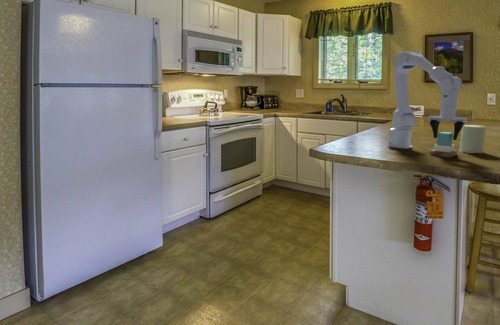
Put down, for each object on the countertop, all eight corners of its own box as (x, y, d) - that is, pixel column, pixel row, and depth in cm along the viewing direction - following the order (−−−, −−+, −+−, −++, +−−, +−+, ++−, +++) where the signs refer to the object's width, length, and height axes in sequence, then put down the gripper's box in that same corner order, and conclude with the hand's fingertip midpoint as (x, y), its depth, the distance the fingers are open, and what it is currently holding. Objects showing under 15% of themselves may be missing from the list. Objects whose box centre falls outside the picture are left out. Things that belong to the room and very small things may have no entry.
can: (483, 154, 158) (486, 126, 156) (458, 152, 163) (461, 125, 160) (482, 151, 166) (486, 124, 163) (459, 149, 171) (462, 123, 168)
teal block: (436, 144, 156) (437, 132, 155) (440, 143, 159) (441, 131, 158) (448, 145, 153) (449, 133, 152) (451, 144, 156) (453, 132, 155)
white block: (433, 150, 156) (434, 144, 156) (438, 148, 161) (439, 143, 160) (449, 152, 152) (450, 146, 152) (453, 150, 156) (454, 144, 156)
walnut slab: (429, 156, 157) (430, 150, 157) (436, 153, 163) (437, 148, 162) (449, 158, 152) (450, 152, 151) (456, 156, 157) (456, 150, 156)
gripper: (426, 106, 155) (423, 138, 158) (464, 107, 145) (460, 141, 148) (432, 105, 160) (429, 136, 163) (470, 106, 150) (466, 139, 152)
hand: (445, 138), depth 155 cm, fingers open, 7 cm apart
